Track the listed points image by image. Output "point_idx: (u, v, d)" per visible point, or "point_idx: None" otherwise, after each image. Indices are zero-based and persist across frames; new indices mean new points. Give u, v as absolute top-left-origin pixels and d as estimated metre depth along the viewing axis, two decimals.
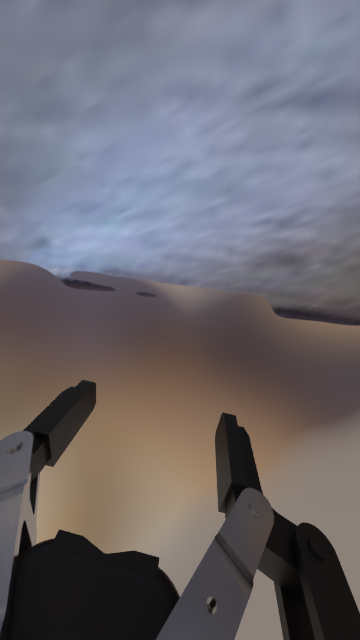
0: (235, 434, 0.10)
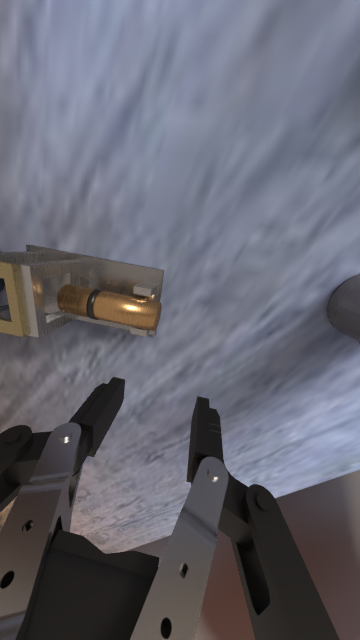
0: (205, 414, 0.10)
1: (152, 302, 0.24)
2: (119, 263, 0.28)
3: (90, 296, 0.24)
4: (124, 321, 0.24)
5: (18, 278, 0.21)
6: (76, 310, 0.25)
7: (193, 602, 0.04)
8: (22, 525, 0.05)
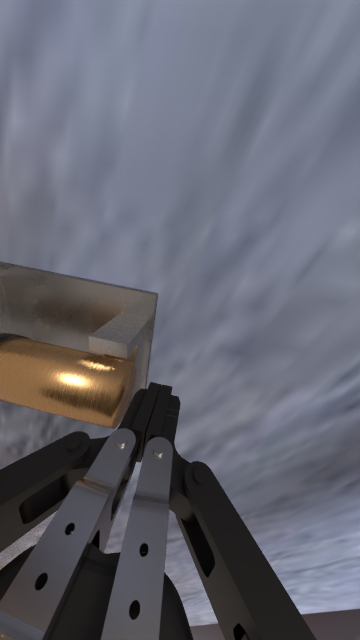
0: (165, 400, 0.11)
1: (112, 370, 0.11)
2: (73, 280, 0.15)
3: None
4: (49, 412, 0.11)
5: None
6: None
7: (156, 570, 0.05)
8: (66, 526, 0.05)
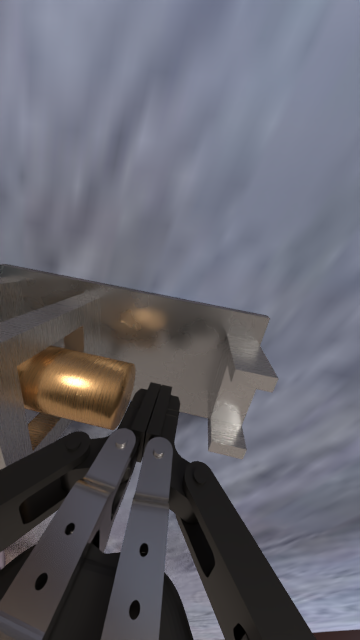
0: (165, 400, 0.11)
1: (110, 371, 0.11)
2: (180, 302, 0.14)
3: None
4: (48, 413, 0.11)
5: None
6: None
7: (156, 570, 0.05)
8: (66, 526, 0.05)
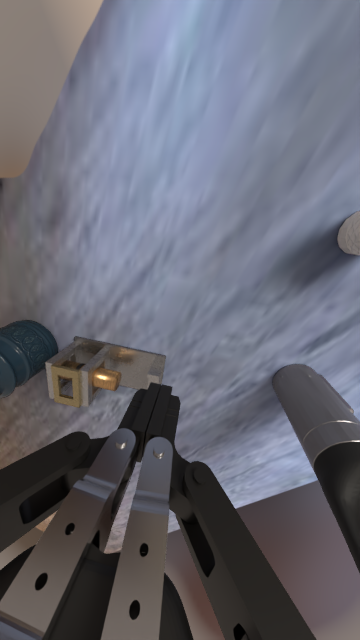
0: (165, 400, 0.11)
1: (113, 374, 0.40)
2: (136, 351, 0.43)
3: None
4: (96, 386, 0.40)
5: (79, 377, 0.36)
6: (66, 378, 0.40)
7: (156, 570, 0.05)
8: (66, 526, 0.05)
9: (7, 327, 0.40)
